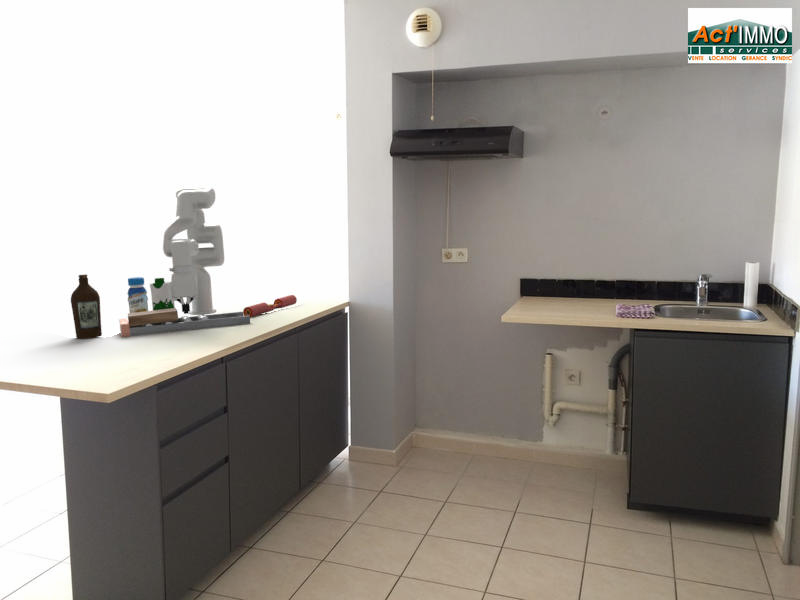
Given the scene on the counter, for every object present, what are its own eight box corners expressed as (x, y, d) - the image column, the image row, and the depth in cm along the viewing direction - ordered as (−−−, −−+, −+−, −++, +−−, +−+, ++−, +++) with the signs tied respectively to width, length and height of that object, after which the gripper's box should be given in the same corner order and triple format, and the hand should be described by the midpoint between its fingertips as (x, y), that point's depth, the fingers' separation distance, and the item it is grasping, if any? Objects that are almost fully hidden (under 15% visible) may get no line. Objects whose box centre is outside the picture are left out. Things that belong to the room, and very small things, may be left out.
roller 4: (197, 323, 302) (196, 314, 301) (206, 322, 303) (205, 313, 303) (201, 327, 291) (200, 318, 290) (211, 326, 292) (210, 316, 292)
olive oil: (72, 336, 282) (66, 275, 279) (100, 333, 288) (94, 273, 285) (77, 340, 273) (70, 276, 270) (105, 336, 279) (99, 274, 276)
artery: (288, 304, 355) (287, 294, 354) (297, 304, 353) (296, 294, 353) (243, 317, 316) (242, 307, 315) (252, 318, 314) (252, 307, 314)
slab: (128, 323, 289) (127, 313, 288) (176, 317, 296) (175, 307, 295) (129, 326, 280) (127, 316, 279) (178, 320, 287) (177, 310, 286)
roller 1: (153, 328, 294) (143, 331, 292) (151, 319, 293) (141, 321, 291) (155, 332, 284) (145, 334, 282) (153, 323, 283) (142, 325, 281)
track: (120, 330, 292) (119, 319, 291) (242, 318, 312) (241, 307, 311) (122, 337, 276) (120, 324, 276) (250, 323, 296) (249, 311, 296)
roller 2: (163, 328, 296) (159, 320, 295) (172, 324, 298) (169, 316, 297) (166, 332, 285) (162, 323, 284) (176, 328, 287) (172, 319, 286)
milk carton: (151, 324, 305) (147, 279, 303) (160, 321, 314) (156, 277, 312) (170, 324, 304) (166, 278, 302) (179, 320, 313) (175, 276, 311)
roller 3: (180, 325, 299) (179, 316, 298) (190, 324, 300) (188, 315, 300) (184, 329, 288) (182, 320, 287) (194, 327, 290) (192, 318, 289)
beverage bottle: (153, 320, 318) (149, 276, 315) (144, 323, 310) (140, 278, 307) (135, 320, 319) (131, 277, 316) (126, 323, 311) (122, 279, 308)
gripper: (164, 272, 285) (168, 316, 287) (202, 269, 291) (205, 312, 293) (163, 270, 292) (166, 314, 294) (199, 268, 297) (203, 310, 300)
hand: (186, 313), depth 294 cm, fingers closed
